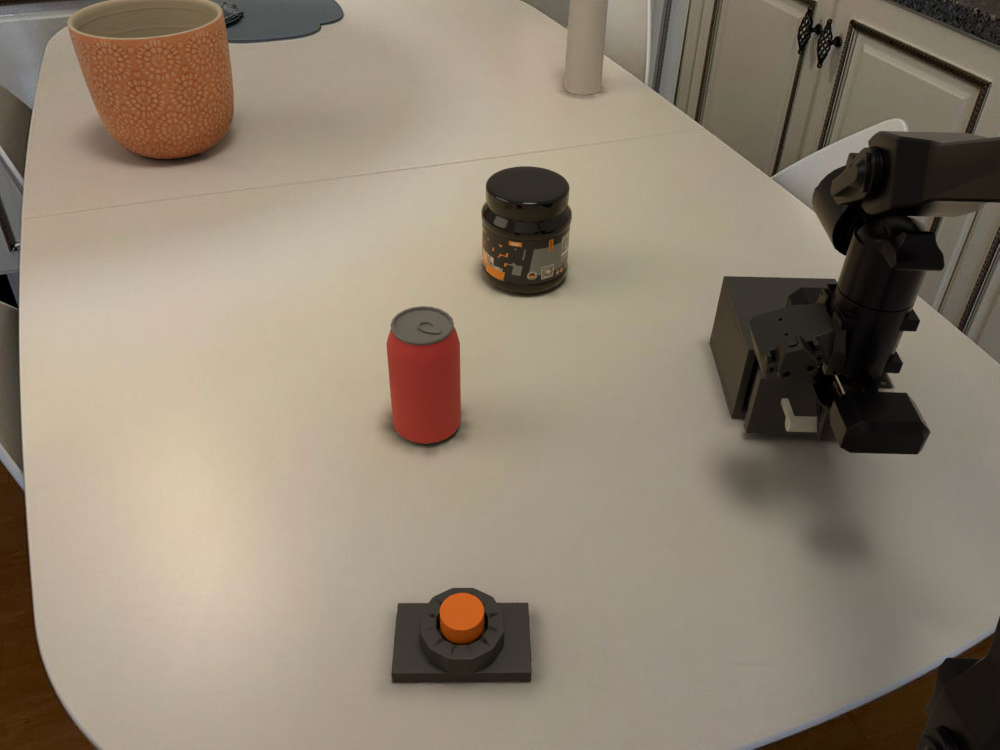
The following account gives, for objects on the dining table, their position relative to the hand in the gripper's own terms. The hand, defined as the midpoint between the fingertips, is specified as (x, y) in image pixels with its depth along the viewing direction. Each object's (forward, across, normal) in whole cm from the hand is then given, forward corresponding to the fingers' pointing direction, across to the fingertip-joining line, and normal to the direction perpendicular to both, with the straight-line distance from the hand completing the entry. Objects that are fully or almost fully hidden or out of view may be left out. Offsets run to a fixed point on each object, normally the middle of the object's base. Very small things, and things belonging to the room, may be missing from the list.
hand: (823, 438), depth 75 cm
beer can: (+5, -6, -36) cm, 36 cm away
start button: (+2, +19, -31) cm, 36 cm away
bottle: (+5, -95, -16) cm, 97 cm away
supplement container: (+5, -33, -26) cm, 43 cm away
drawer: (+4, -8, 0) cm, 9 cm away
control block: (+5, +19, -31) cm, 36 cm away
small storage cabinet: (+5, -14, 0) cm, 15 cm away
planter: (+5, -68, -80) cm, 105 cm away
